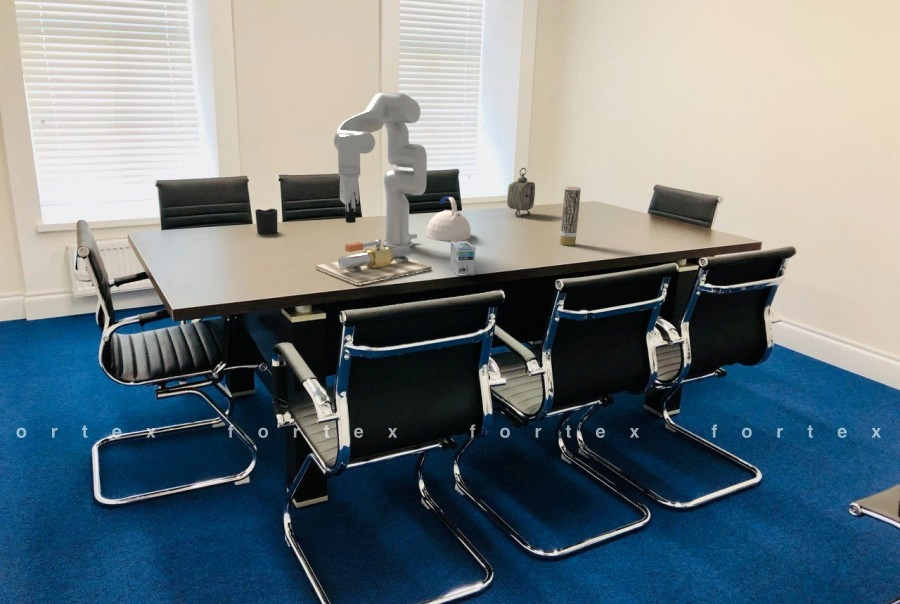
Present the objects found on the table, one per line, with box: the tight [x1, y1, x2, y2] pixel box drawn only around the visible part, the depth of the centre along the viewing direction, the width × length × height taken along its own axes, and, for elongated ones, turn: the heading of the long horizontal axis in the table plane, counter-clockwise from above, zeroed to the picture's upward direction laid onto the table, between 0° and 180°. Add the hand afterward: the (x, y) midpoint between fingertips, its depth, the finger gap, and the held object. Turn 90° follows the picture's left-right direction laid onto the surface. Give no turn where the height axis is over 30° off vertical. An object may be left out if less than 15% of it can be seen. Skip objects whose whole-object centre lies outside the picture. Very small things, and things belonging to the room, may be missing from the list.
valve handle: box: [344, 239, 382, 253], centre depth 248 cm, size 3×15×2 cm, turn 136°
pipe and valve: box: [338, 245, 412, 273], centre depth 253 cm, size 30×6×8 cm, turn 133°
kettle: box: [426, 195, 472, 242], centre depth 310 cm, size 20×21×18 cm
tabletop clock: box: [506, 167, 536, 218], centre depth 360 cm, size 14×9×25 cm, turn 147°
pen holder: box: [254, 208, 278, 235], centre depth 305 cm, size 9×9×10 cm
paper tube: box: [559, 186, 582, 247], centre depth 301 cm, size 7×7×25 cm
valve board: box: [315, 258, 433, 284], centre depth 255 cm, size 34×26×2 cm
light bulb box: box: [449, 240, 476, 276], centre depth 256 cm, size 11×7×11 cm, turn 17°
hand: (350, 222), depth 245 cm, fingers closed
